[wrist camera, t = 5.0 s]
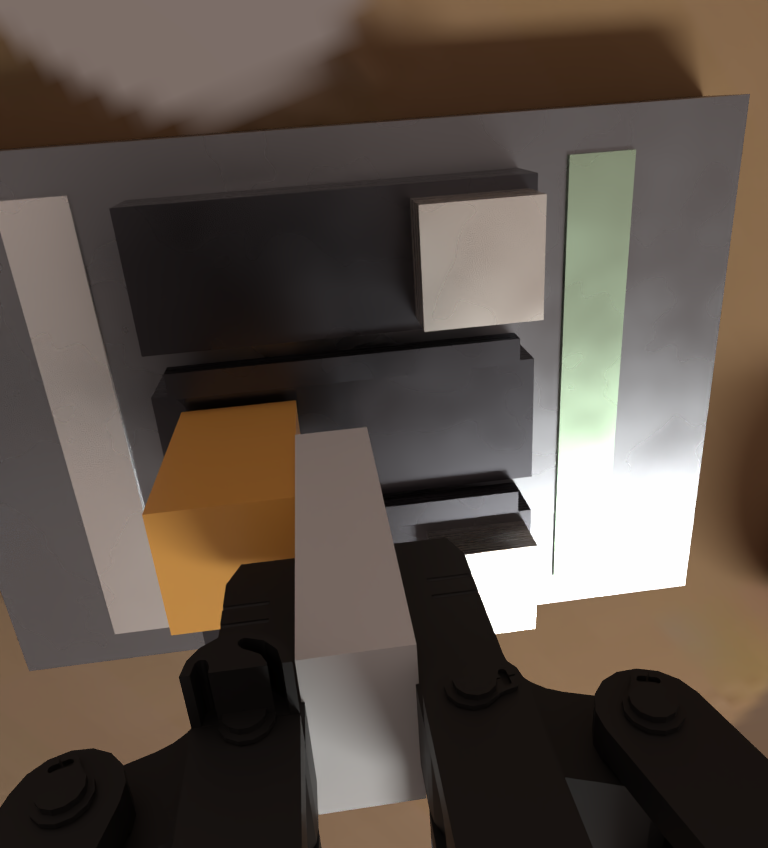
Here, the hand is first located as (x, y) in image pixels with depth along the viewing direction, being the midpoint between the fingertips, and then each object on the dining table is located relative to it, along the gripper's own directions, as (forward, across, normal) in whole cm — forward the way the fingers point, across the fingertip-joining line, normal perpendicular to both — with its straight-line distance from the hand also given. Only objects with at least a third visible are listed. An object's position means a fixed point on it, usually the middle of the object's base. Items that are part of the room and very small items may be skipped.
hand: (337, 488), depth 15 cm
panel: (+6, 0, 0) cm, 6 cm away
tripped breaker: (+2, -2, 0) cm, 3 cm away
